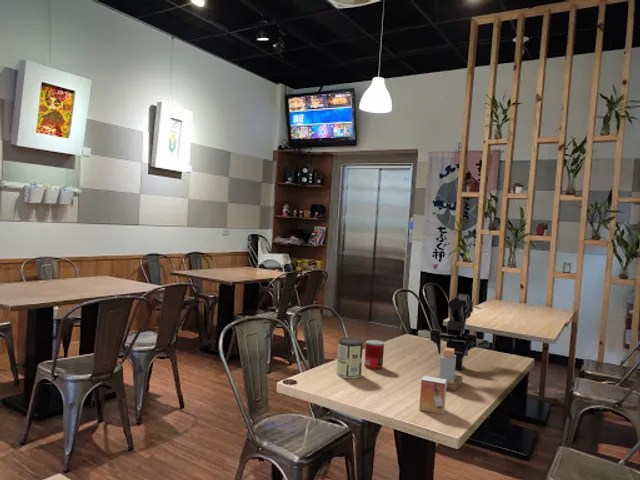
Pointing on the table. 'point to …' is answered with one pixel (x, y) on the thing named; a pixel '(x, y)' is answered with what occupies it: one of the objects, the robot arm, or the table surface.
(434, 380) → the small box
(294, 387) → the table surface
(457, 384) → the dock
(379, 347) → the canned food
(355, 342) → the coffee can
